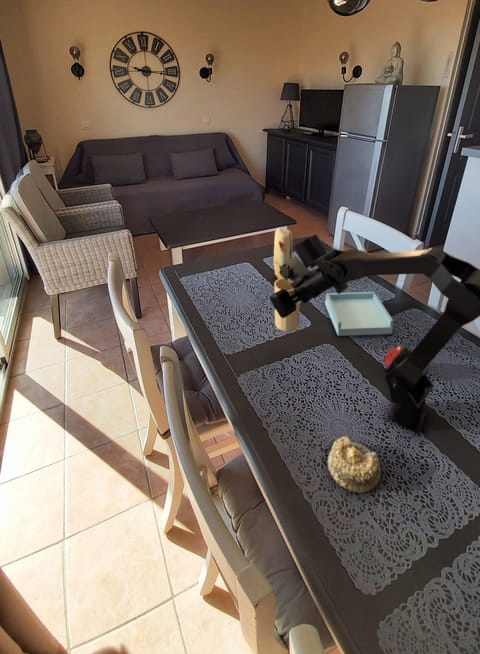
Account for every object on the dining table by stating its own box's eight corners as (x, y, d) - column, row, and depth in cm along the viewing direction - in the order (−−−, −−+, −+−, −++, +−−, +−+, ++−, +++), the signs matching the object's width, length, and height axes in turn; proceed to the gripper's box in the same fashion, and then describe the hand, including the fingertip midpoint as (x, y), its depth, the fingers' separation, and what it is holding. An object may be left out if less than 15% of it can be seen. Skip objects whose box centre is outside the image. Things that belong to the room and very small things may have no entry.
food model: (271, 272, 142) (271, 225, 134) (288, 271, 143) (289, 224, 135) (275, 285, 133) (276, 235, 125) (293, 283, 134) (295, 234, 126)
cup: (282, 334, 97) (282, 293, 92) (270, 320, 103) (270, 281, 98) (303, 327, 100) (304, 286, 94) (291, 313, 105) (291, 275, 100)
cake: (373, 506, 65) (376, 488, 62) (320, 478, 69) (320, 461, 67) (385, 456, 72) (388, 439, 70) (336, 434, 77) (337, 418, 74)
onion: (409, 382, 89) (415, 357, 86) (385, 379, 91) (389, 354, 87) (404, 365, 95) (409, 341, 92) (381, 362, 96) (385, 338, 93)
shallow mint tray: (391, 334, 106) (394, 321, 105) (337, 335, 106) (339, 323, 104) (372, 303, 121) (374, 291, 119) (325, 304, 121) (326, 293, 119)
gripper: (322, 242, 95) (288, 265, 107) (275, 266, 84) (243, 289, 95) (346, 278, 93) (309, 298, 105) (302, 308, 81) (266, 327, 93)
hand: (283, 302), depth 100 cm, fingers closed on cup, 7 cm apart
